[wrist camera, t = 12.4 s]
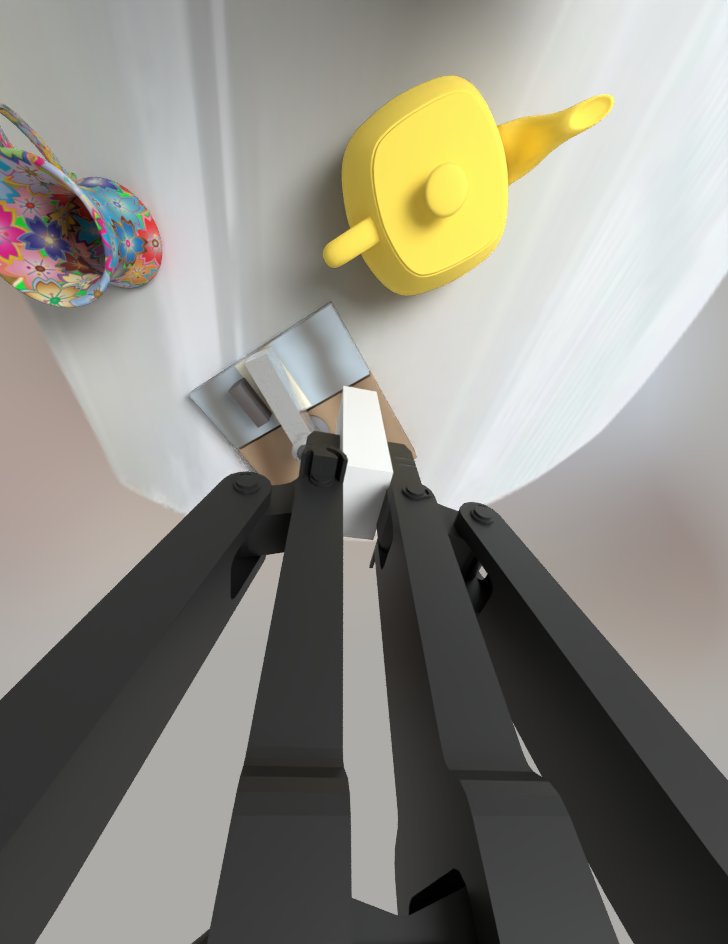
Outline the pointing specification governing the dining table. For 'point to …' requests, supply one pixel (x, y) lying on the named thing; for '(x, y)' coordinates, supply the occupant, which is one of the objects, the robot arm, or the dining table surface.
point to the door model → (316, 382)
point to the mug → (68, 228)
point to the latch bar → (281, 398)
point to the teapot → (440, 181)
